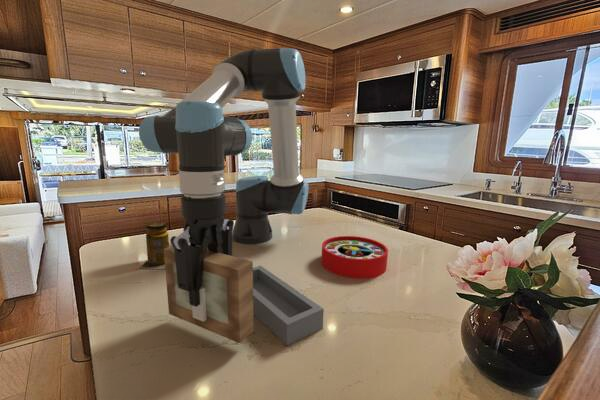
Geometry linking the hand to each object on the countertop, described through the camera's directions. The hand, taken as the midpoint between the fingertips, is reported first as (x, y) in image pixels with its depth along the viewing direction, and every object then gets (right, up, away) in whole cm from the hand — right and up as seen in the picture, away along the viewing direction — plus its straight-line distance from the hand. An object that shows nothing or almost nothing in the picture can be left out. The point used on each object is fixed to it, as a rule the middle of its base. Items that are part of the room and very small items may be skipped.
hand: (209, 311), depth 58 cm
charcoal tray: (+11, -3, +11) cm, 16 cm away
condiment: (-25, +2, +32) cm, 41 cm away
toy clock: (+34, +1, +36) cm, 50 cm away
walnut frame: (0, -2, +1) cm, 2 cm away
